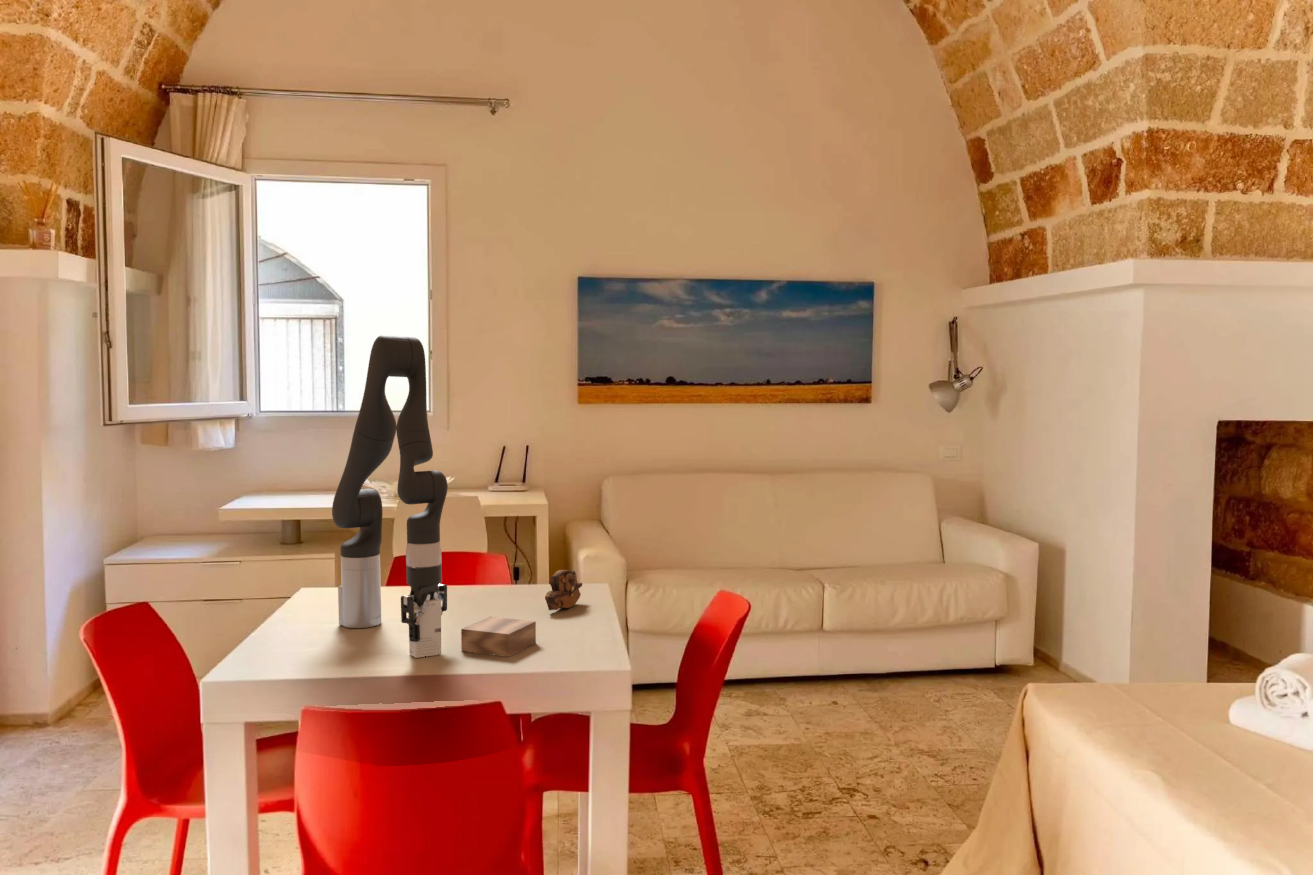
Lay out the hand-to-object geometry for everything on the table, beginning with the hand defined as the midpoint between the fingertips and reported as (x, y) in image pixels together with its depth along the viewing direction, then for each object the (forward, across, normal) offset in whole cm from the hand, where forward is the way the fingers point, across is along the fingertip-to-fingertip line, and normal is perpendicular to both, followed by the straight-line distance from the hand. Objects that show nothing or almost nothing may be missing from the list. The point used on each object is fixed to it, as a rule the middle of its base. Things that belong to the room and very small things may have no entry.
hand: (425, 636), depth 219 cm
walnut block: (+4, -11, +12) cm, 17 cm away
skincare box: (+4, 0, 0) cm, 4 cm away
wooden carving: (+4, -50, +8) cm, 50 cm away
